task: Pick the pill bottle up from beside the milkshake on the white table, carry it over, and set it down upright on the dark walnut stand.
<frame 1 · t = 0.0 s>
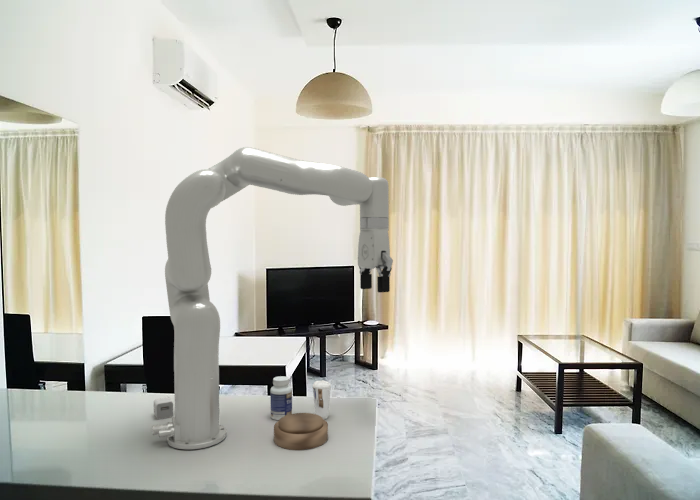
hand: (374, 290, 127), 31 cm above the table, fingers open, 9 cm apart
milkshake: (323, 418, 121), on the table
walnut stand: (301, 438, 108), on the table
pill bottle: (281, 417, 122), on the table
usb wall charger: (162, 415, 124), on the table
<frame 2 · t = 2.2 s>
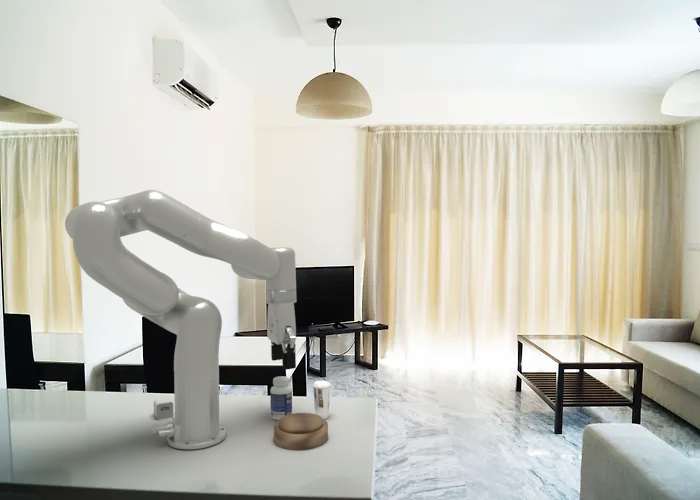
hand: (283, 364, 122), 13 cm above the table, fingers open, 9 cm apart
nothing on the table moved.
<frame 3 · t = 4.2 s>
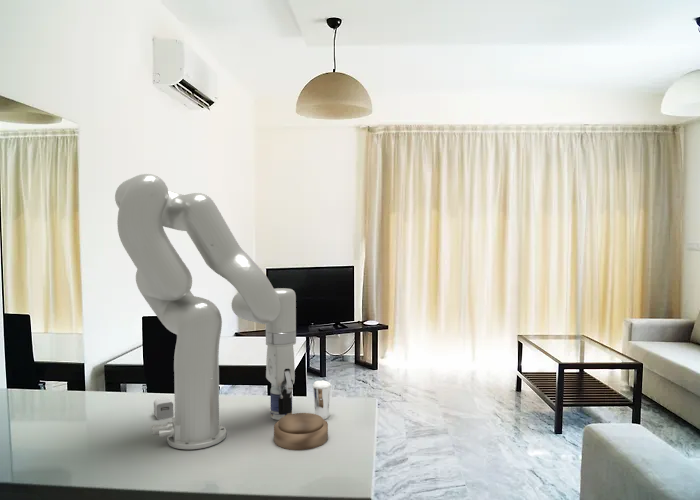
hand: (281, 408, 122), 2 cm above the table, fingers closed on pill bottle, 5 cm apart
pill bottle: (281, 417, 122), on the table, touching gripper
everything else where it was.
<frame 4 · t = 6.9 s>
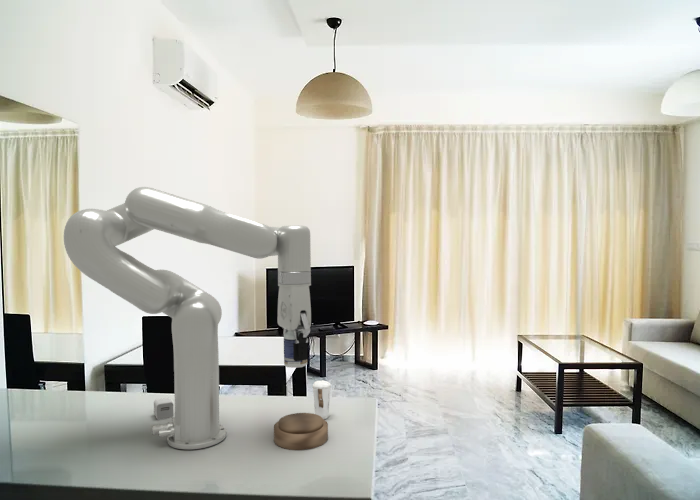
hand: (295, 356, 112), 17 cm above the table, fingers closed on pill bottle, 5 cm apart
pill bottle: (295, 366, 112), point 15 cm above the table, touching gripper
everything else where it was.
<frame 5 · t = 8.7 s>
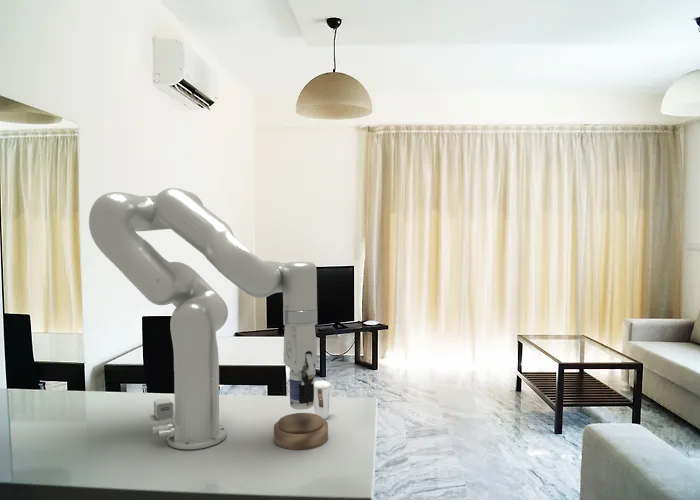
hand: (301, 397, 108), 9 cm above the table, fingers closed on pill bottle, 5 cm apart
pill bottle: (302, 407, 108), point 7 cm above the table, touching gripper
everything else where it was.
when the fingers open (7 cm above the table, at t = 9.9 s): pill bottle drops 1 cm, resting on walnut stand.
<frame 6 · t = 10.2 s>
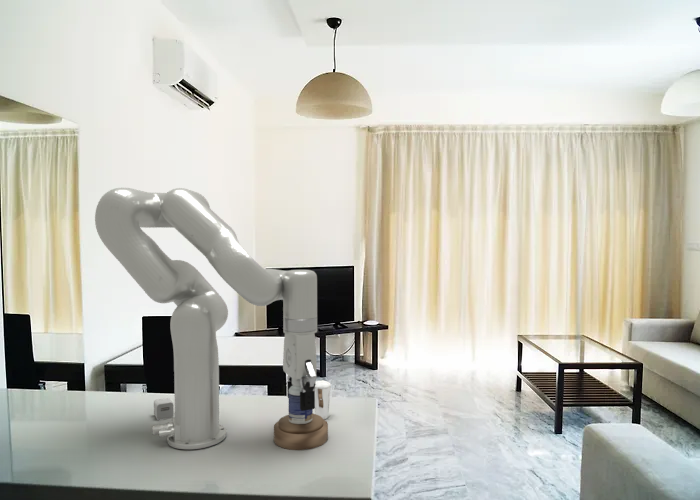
hand: (300, 403, 108), 8 cm above the table, fingers open, 8 cm apart
pill bottle: (300, 421, 108), point 4 cm above the table, touching walnut stand
everything else where it was.
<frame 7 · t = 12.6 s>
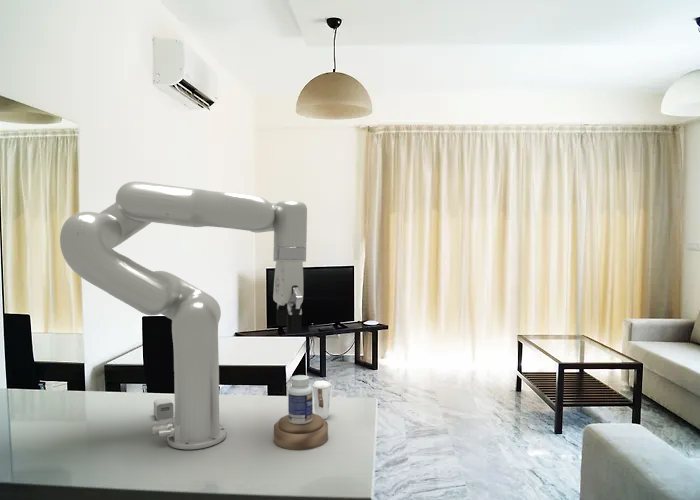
hand: (288, 328, 112), 24 cm above the table, fingers open, 9 cm apart
nothing on the table moved.
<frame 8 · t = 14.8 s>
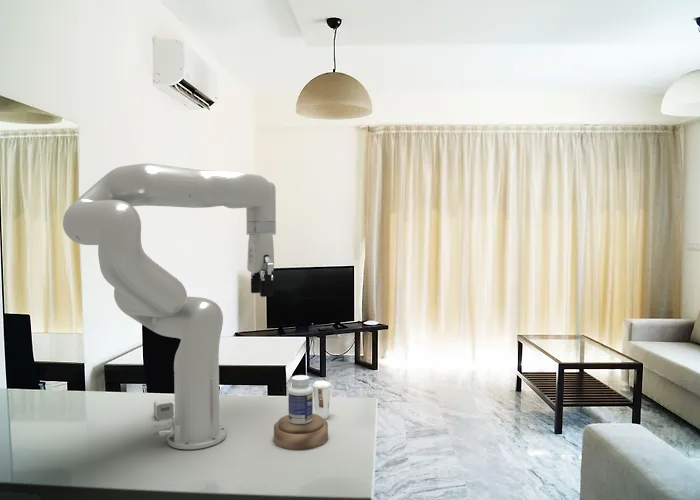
hand: (261, 294, 126), 30 cm above the table, fingers open, 9 cm apart
nothing on the table moved.
at the end: pill bottle 0.1 cm off-centre on the walnut stand, point 3.8 cm above the walnut stand's base; pill bottle tilted 0°; milkshake moved 0.2 cm from its start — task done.
